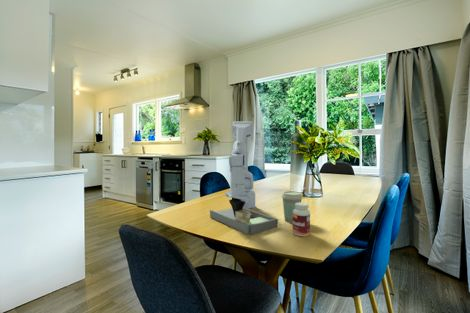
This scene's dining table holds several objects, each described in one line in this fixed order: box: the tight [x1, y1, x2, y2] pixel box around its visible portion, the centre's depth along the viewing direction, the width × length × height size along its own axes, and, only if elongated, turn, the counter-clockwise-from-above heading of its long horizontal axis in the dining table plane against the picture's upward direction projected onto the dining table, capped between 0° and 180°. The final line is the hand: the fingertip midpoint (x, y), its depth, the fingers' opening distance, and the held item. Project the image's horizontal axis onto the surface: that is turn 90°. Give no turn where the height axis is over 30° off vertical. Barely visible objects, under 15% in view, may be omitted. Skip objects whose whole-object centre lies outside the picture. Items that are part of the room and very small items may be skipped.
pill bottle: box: [291, 201, 311, 237], centre depth 89 cm, size 6×6×11 cm
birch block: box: [236, 210, 250, 223], centre depth 97 cm, size 4×4×4 cm
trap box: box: [209, 208, 279, 236], centre depth 103 cm, size 15×27×3 cm, turn 37°
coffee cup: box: [281, 190, 303, 224], centre depth 104 cm, size 8×8×12 cm
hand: (237, 217), depth 99 cm, fingers closed
